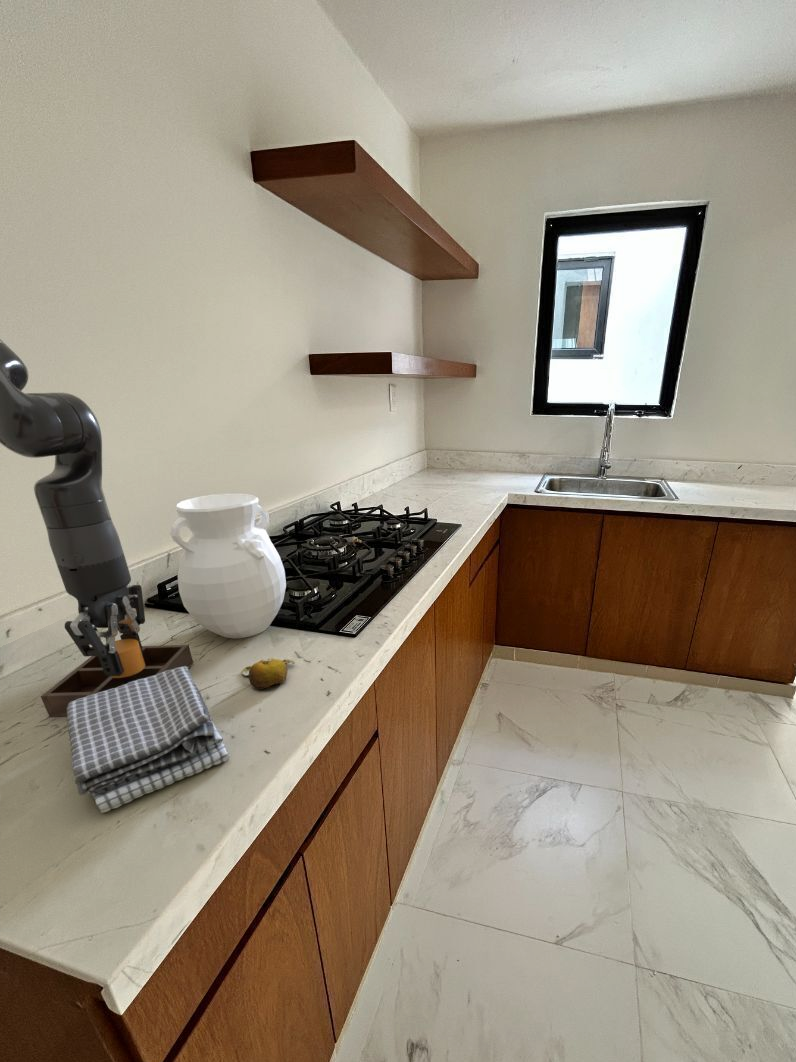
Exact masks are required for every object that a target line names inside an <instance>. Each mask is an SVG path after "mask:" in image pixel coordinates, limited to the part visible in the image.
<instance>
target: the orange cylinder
mask: <svg viewBox="0 0 796 1062" xmlns="http://www.w3.org/2000/svg"><path fill="white" fill-rule="evenodd" d="M115 645H116V651H118V654H119V657H120V660H121V664H122V667H123V670H124V672H123V673H122V674H121V675H120V676H111V677H113V678H124V677H128V676H132V675H134V674H137V673H139V672H140V671H142V670H143V669H144V668H145V662H144V659H143V656H142V652H141V649H140V646H139V643H138V641H137V640H136V639H122V640H121V639H118V640H115Z"/></svg>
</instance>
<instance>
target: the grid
mask: <svg viewBox="0 0 796 1062" xmlns="http://www.w3.org/2000/svg"><path fill="white" fill-rule="evenodd" d="M142 650H143V655H142V656H143V659H144V662H145V668H144V669H143V670H142V671H140V672H139V673H137V674H134V675H132V676H128V677H124V678H113V677H111V676H107V675H106V674H105V673H104V671H103V668H102V666H101V663H100V660H99V657H98V656H89V658H87V659H86V660H85V661H84V662H82V663H81V664H80V665H78V666H77V667H76V668H75V669H74V670H72V671H71V672H69V673H68V674H66V676H64V677H63V678H62V679H61V680H60V681H58V682H57V683H56V684H54V685H53V686H52V687H50V688H49V689H48V690H47V691H45V692H44V693H43V694H41V696H40V699H41V701H42V703H43V705H44V708H45V711H46V713H47V715H48V717H49V718H62V717H63V718H64V717H67V707H68V703H69V702H71V701H75V700H77V699H79V698H82V697H87V696H88V695H92V694H97V693H98V692H102V691H107V690H109V689H113V688H117V687H118V686H122V685H125V684H127V683H129V682H132V681H136V680H137V679H142V678H147V677H149V676H155V675H156V674H158V673H161V672H164V671H166V670H173V669H174V668H177V667H183V666H187V667H188V669H189V670H190V667H192V666H193V664H194V660H193V656H192V652H191V648H190V645H189V644H168V645H166V644H164V645H163V644H162V645H161V644H159V645H142Z"/></svg>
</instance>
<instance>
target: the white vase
mask: <svg viewBox="0 0 796 1062" xmlns="http://www.w3.org/2000/svg"><path fill="white" fill-rule="evenodd" d="M259 500H260V498H258V497H257V496H256V495H254V494H250V493H241V492H231V493H216V494H215V493H214V494H207V495H201V496H200V495H199V496H195V497H192V498H191V497H190V498H188V499H184V500H181V501H180V502H177V504H176V506H175V510H176V512H177V515H178V516H179V517H178V518H177V519H176V520H174V521H173V523H172V525H171V526H170V536H171V538H172V541H173V542H174V543H175V544H177V545H178V546H179V547H181V549H182V550H183V551H182V553H181V556H180V558H179V563H178V571H177V585H178V586H177V587H178V593H179V596H180V599H181V602H182V605H183V607H184V608H185V610H186V611H187V612H188V614H189V615H190V616H191V618H192V620H193V621H194V622H195V623H196V624H198V625H200V626H201V627H202V628H204V629H205V630H206V631H209V632H212V633H214V634H216V635H218V636H221V637H223V638H226V639H232V640H233V639H236V640H237V639H244V638H245V639H246V638H249V637H253V636H256V635H259V634H261V633H263V632H264V631H266V630H268V628H269V627H270V626H271V624H272V622H273V621H274V620H275V618H276V616H277V615H278V614H279V611H280V609H281V607H282V604H283V603H284V599H285V594H286V588H287V580H286V571H285V567H284V564H283V561H282V559H281V556H280V554H279V552H278V550H277V549H276V547H275V545H274V544H273V542H272V541H271V538H270V536H269V533H268V532H267V530H268V528H269V525H270V523H271V522H270V521H271V520H270V519H271V518H270V514H269V512H268V510H267V509H265V508H264V507H262V506H261V505H259ZM257 513H258V514H259V521H258V522H257V523H256V524H255V522H256V518H257ZM182 527H186V528H187V529H188V530H189V531H190V532H191V533H192V535H191V536H190V538H189V539H188V541H187V542H186V541H185V540H183V539H182V537H181V536H180V530H181V529H182Z"/></svg>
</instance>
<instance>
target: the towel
mask: <svg viewBox="0 0 796 1062" xmlns="http://www.w3.org/2000/svg"><path fill="white" fill-rule="evenodd" d="M192 677H193V676H192V675H191V673H190V668H189V669H188V667H187V666H183V667H177V668H174V669H173V670H166V671H164V672H161V673H158V674H156V675H155V676H149V677H147V678H142V679H137V680H136V681H132V682H129V683H127V684H125V685H122V686H118V687H117V688H113V689H109V690H107V691H102V692H98V693H97V694H92V695H88V696H87V697H82V698H79V699H77V700H75V701H71V702H69V703H68V707H67V716H66V717H67V728H68V729H67V730H68V736H69V741H70V742H69V743H70V752H71V767H72V774H73V777H74V784H76V786H77V791H78V794H79V796H84V795H87V794H91V796H92V798H93V799H94V802H95V805H96V807H97V808H98V809H99V813H100V814H104V813H106V812H109V811H111V810H112V809H117V808H119V807H121V806H122V805H124V804H125V805H126V804H128V803H131V802H132V801H134V800H135V799H138V798H140V797H142V796H144V795H147V794H150V793H153V792H155V791H157V790H161V789H163V788H164V787H166V786H169V785H173V784H174V783H175V782H177V781H181V780H183V779H185V778H187V777H192V776H193V775H195V774H199V773H202V772H203V770H206V769H207V770H208V769H210V768H211V767H212V766H217V765H220V764H221V763H224V762H227V761H228V760H229V759H230V754H229V752H228V751H227V750H226V749H227V747H226V745H225V744H224V738H223V737H222V736H221V734H220V732H219V730H218V729H217V727H216V725H215V723H214V721H213V719H212V718H211V714H209V713H210V711H209V708H208V706H207V704H206V702H205V701H204V697H203V696H202V693H201V691H200V690H199V688H198V687H197V685H196V682H195V680H194V679H193V678H192Z"/></svg>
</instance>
